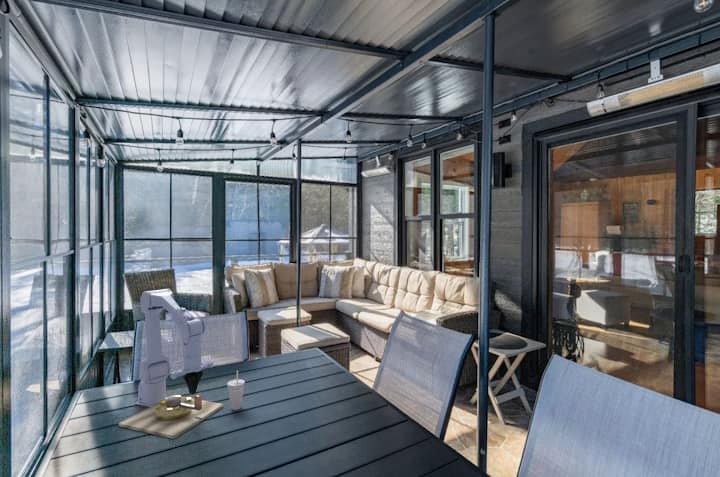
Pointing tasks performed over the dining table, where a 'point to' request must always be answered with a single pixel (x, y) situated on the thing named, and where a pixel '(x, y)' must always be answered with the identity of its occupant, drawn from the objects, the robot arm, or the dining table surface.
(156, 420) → the base plate
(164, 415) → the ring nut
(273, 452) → the dining table surface
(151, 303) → the robot arm
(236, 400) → the smoothie
